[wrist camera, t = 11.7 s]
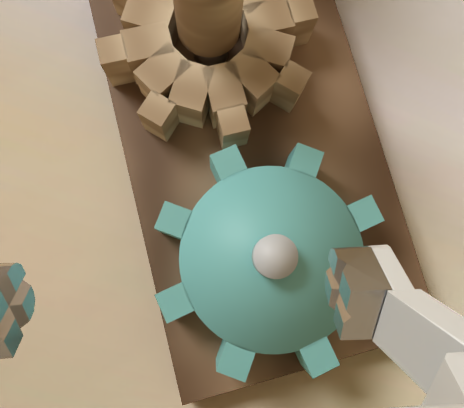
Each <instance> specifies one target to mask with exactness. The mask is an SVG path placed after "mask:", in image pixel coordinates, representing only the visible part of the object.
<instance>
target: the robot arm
mask: <svg viewBox="0 0 464 408" xmlns="http://www.w3.org/2000/svg"><path fill="white" fill-rule="evenodd" d="M328 261H329V264H330V268H329V269H328V270H327V271H326V274H325V292H326V298H327V301H328V304H329V306H330V307H331V308H333V309H334V310H335V312H334V317H333V320H334V323H335V326H336V329H337V332H338V335H339V339H340V340H366V339H373V342H374V343H375V344H376V345H377V346H378V347H379V348H380V349H381V350H382V351H383V352H384V353H385V354H386V355H387V356H388V357H389V358H390V359H391V360H392V361H393V362H394V363H395V364H396V365H398V366H399V367H400V368H401V369H402V370H403V371H404V372H405V373H406V374H407V375H408V376H409V377H410V378H411V379H412V380H413V381H414V382H415V383H416V384H417V385H418V386H419V387H420V388H421V389H422V390H423V391H424V392H425V393H426V396H425V398H424V400H423V403H422V405H421V406H407V407H391V408H464V317H463V316H462V315H460V314H459V313H457V312H456V311H454V310H452V309H451V308H449V307H448V306H446V305H445V304H443V303H442V302H440V301H438V300H437V299H435V298H434V297H432V296H431V295H429V294H428V293H426V292H424V291H423V290H421V289H414V287H413V285H412V283H411V282H410V280H409V278H408V276H407V275H406V273H405V271H404V270H403V268H402V266H401V264H400V263H399V261H398V259H397V257H396V256H395V254H394V252H393V251H392V249H391V247H390V246H388V245H372V246H359V247H340V248H331V249H330V251H329V255H328ZM25 274H26V273H25V271H24V269H23V267H22V265H21V264H18V263H0V359H5V358H13V357H14V354H15V352H16V350H17V348H18V346H19V343H20V341H21V339H22V337H23V334H22V331H21V329H20V328H21V327H23V326H24V325H25V324H26V323H28V322H29V321H30V319H31V317H32V314H33V312H34V305H35V297H34V291H33V289H32V287H31V285H29V284H28V283H27V282H25V281H24V280H23V278H24V276H25Z"/></svg>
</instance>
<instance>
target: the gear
mask: <svg viewBox="0 0 464 408" xmlns="http://www.w3.org/2000/svg"><path fill="white" fill-rule="evenodd" d="M323 155H324V152H322V151H319V150H317V149H314V148H311V147H309V146H306V145H303V144H301V143H297V144H296V146H295V147H294V149H293V150H292V151H291V153H290V154H289V156H288V158H287V161H286V164H285V167H282V166H260V167H253V168H249V169H247V167H246V165H245V162H244V160H243V158H242V156H241V154H240V152H239V150H238V148H237V146H236V144H234V145H232V146H230V147H227V148H225V149H223V150H220V151H218V152H216V153H213V154H211V155H210V169H211V171H212V173H213V175H214V178H215V180H216V182H217V184H215V185H214V186H213V187H212V188H210V189H209V190H208V191H207V192H206V193H205V194H204V195H203V196H202V198H201V199H200V200H199V201H198V202H197V204H196V205H195V207H194V208H193V210H192V211H191V210H189V209H186V208H183V207H181V206H178V205H175V204H173V203H170V202H167V201H165V202H164V204H163V207H162V209H161V212H160V214H159V217H158V219H157V222H156V224H155V227H154V229H156V230H158V231H159V232H161V233H164V234H166V235H169V236H172V237H174V238H177V239H180V240H181V242H180V248H179V268H180V275H181V280H182V282H181V283H178V284H176V285H174V286H172V287H170V288H168V289H166V290H163V291H161V292H159V293H158V294H156V295H155V297H156V300H157V302H158V304H159V307H160V309H161V311H162V314H163V316H164V318H165V321H166V323H169V322H172V321H174V320H176V319H178V318H180V317H182V316H184V315H186V314H188V313H191V312H193V311H195V312H196V314H197V315H198V317H199V318H200V319H201V320H202V322H203V323H204V324H205V325H206V326H207V327H208V328H209V329H210V330H211V331H212V332H214V333H215V334H216V335H217V336H218V337H220V338H222V342H221V345H220V348H219V351H218V353H217V356H216V372H218V373H221V374H224V375H226V376H229V377H232V378H234V379H237V380H240V381H242V382H246V379H247V376H248V373H249V371H250V368H251V365H252V362H253V359H254V356H255V353H261V354H285V353H292V352H295V353H296V356H297V358H298V360H299V362H300V364H301V366H302V367H303V368H304V369H305V370H306V371H307V373H308V374H309V375H310V376H311V377H312V378H313V379H314V378H316V377H318V376H319V375H321V374H323V373H325V372H327V371H329V370H331V369H333V368H335V367H337V366H339V365H340V364H339V361H338V359H337V357H336V355H335V353H334V351H333V349H332V347H331V344H330V342H329V340H328V338H327V336H329V335H330V334H331V333H332V332H334V331H335V330H336V326H335V323H334V320H333V317H334V312H335V310H334V309H333V308H331V307H330V306H329V304H328V301H327V298H326V292H325V274H326V271H327V270H328V269H329V268H330V264H329V261H328V255H329V251H330V249H331V248H340V247H359V246H363V241H362V237H361V234H360V232H362V231H364V230H366V229H368V228H370V227H372V226H374V225H376V224H379V223H381V222H383V221H385V220H384V218H383V216H382V214H381V212H380V210H379V208H378V206H377V205H376V203H375V201H374V199H373V197H372V195H369V196H367V197H365V198H362V199H360V200H358V201H356V202H353V203H351V204H349V205H346V204H345V203H344V201H343V200H342V199H341V198H340V197H339V196H338V195H337V194H336V193H335V192H334V191H333V190H332V189H331V188H330V187H329V186H327V185H326V184H325V183H324V182H322V181H320V180H319V179H317V178H316V176H317V173H318V170H319V167H320V164H321V161H322V158H323Z"/></svg>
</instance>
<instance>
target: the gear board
mask: <svg viewBox="0 0 464 408" xmlns="http://www.w3.org/2000/svg"><path fill="white" fill-rule="evenodd" d="M313 2H314V5H315V8H316V11H317V14H318V17H319V18H318V20H317V22H316V25H315V27H314V29H313V32H312V34H311V36H310V39H309V41H308V43H307V44H304V45H300V46H295V47H293V49H292V52H291V56H290V60H291V61H293V62H295V63H297V64H298V65H300V66H302V67H304V68H305V69H307V70H309V71H311V72H312V74H311V76H310V78H309V80H308V82H307V84H306V86H305V88H304V90H303V91H302V93H301V95H300V97H299V98H298V100H297V102H296V104H295V105H294V107H293V109H292V110H291V112H290V113H288V112H287V111H285V110H283V109H281V108H280V107H278V106H276V105H274V104H273V103H271V102H268V103H267V104H266V105H265V106H264V107H263V108H262V109H261V110H260V111H259V112H257V113H256V114H255V115H254V116H253V117H252V116H251V115H250V114H249V113H248V112H247V111H246V113H247V117H248V120H249V124H250V128H251V131H250V134H249V138H248V141H247V144H246V145H242V146H238V147H237V148H238V150H239V152H240V154H241V156H242V158H243V160H244V162H245V165H246V167H247V169H249V168H253V167H260V166H282V167H285V164H286V161H287V158H288V156H289V154H290V153H291V151H292V150H293V149H294V147H295V146H296V144H297V143H301V144H303V145H306V146H309V147H311V148H314V149H317V150H319V151H322V152H324V155H323V158H322V161H321V164H320V167H319V170H318V173H317V176H316V178H317V179H319V180H320V181H322V182H324V183H325V184H326V185H327V186H329V187H330V188H331V189H332V190H333V191H334V192H335V193H336V194H337V195H338V196H339V197H340V198H341V199H342V200H343V201H344V203H345V204H346V205H349V204H351V203H353V202H356V201H358V200H360V199H362V198H365V197H367V196H369V195H372V197H373V199H374V201H375V203H376V205H377V206H378V208H379V210H380V212H381V214H382V216H383V218H384V220H385V221H383V222H381V223H379V224H376V225H374V226H372V227H370V228H368V229H366V230H364V231H362V232H360V234H361V237H362V241H363V246H372V245H388V246H390V247H391V249H392V251H393V252H394V254H395V256H396V257H397V259H398V261H399V263H400V264H401V266H402V268H403V270H404V271H405V273H406V275H407V276H408V278H409V280H410V282H411V283H412V285H413V287H414V289H421V290H423V291H424V292H426V293H428V289H427V286H426V283H425V280H424V277H423V274H422V271H421V268H420V265H419V261H418V258H417V255H416V252H415V249H414V246H413V243H412V240H411V237H410V233H409V230H408V227H407V224H406V221H405V218H404V215H403V212H402V209H401V205H400V202H399V199H398V196H397V193H396V190H395V187H394V184H393V181H392V178H391V174H390V171H389V168H388V165H387V162H386V159H385V156H384V153H383V150H382V146H381V143H380V140H379V137H378V134H377V131H376V128H375V125H374V122H373V118H372V115H371V112H370V109H369V106H368V103H367V100H366V97H365V94H364V90H363V87H362V84H361V81H360V78H359V75H358V72H357V69H356V66H355V63H354V59H353V56H352V53H351V50H350V47H349V44H348V41H347V38H346V35H345V31H344V28H343V25H342V22H341V19H340V16H339V13H338V10H337V7H336V3H335V0H313ZM89 3H90V7H91V11H92V16H93V20H94V24H95V29H96V33H97V37H98V38H102V37H106V36H111V35H116V34H120V30H124V28H123V26H122V23H121V21H120V19H121V16H120V15H118V14H117V12H116V9H115V7H114V4H113V1H112V0H89ZM175 48H176V49H177V50H178V51H179V52H180V53H181V54H182V55H183V56H184V57H185V58H186V59H187V60H188V61H192V62H195V63H199V64H202V65H206V66H211V65H216V64H220V63H225V62H229V61H230V60H231V59H232V58H233V57H234V56H236V55H237V54H238V53H239V52H240V51H241V50H242V49H243V45H242V42H241V38H240V37H239V38H238V40H237V42H236V44H235V45H234V47H233V48H232V49H231V50H229V51H228V52H227V53H225V54H223V55H221V56H217V57H202V56H198V55H196V54H194V53H192V52H190V51H189V50H188V49H187V48H186V47H185V46H184V45H183V44H182V42H181V41H180V39H179V36H178V38H177V41H176V44H175ZM106 76H107V75H106ZM107 81H108V85H109V89H110V94H111V98H112V102H113V107H114V111H115V115H116V120H117V124H118V128H119V133H120V137H121V141H122V146H123V150H124V154H125V159H126V163H127V167H128V172H129V176H130V180H131V185H132V189H133V193H134V198H135V202H136V206H137V211H138V215H139V219H140V224H141V228H142V232H143V237H144V241H145V245H146V250H147V254H148V258H149V263H150V267H151V271H152V276H153V280H154V284H155V289H156V293H157V294H158V293H159V292H161V291H163V290H166V289H168V288H170V287H172V286H174V285H176V284H178V283H181V282H182V280H181V275H180V268H179V248H180V242H181V240H180V239H177V238H174V237H172V236H169V235H166V234H164V233H161V232H159V231H158V230H156V229H154V227H155V224H156V222H157V219H158V217H159V214H160V212H161V209H162V207H163V204H164V202H165V201H167V202H170V203H173V204H175V205H178V206H181V207H183V208H186V209H189V210H191V211H192V210H193V208H194V207H195V205H196V204H197V202H198V201H199V200H200V199H201V198H202V196H203V195H204V194H205V193H206V192H207V191H208V190H209V189H210V188H212V187H213V186H214V185H215V184H217V182H216V180H215V178H214V175H213V173H212V171H211V169H210V155H211V154H213V153H216V152H218V151H220V150H222V148H221V144H220V140H219V136H218V133H217V129H216V128H215V129H213V126H212V123H211V119H210V115H209V111H208V113H207V116H206V120H205V123H204V126H203V129H202V128H199V127H195V126H191V125H188V124H184V123H181V122H179V124H178V126H177V127H176V129H175V130H174V132H173V133H172V135H171V136H170V138H169V140H168V141H167V142H166V141H164V140H162V139H161V138H159V137H157V136H155V135H154V134H152V133H150V132H149V131H147V130H145V128H144V126H143V124H142V122H141V120H140V118H139V116H138V114H137V111H138V109H139V108H140V106H141V105H142V103H143V102H144V100H145V99H146V97H145V96H144V95H143V94H142V93H141V91H140V88H139V86H138V84H136V82H132V83H127V84H123V85H118V86H114V87H113V86H112V84H111V82H110V80H109V79H108V77H107ZM428 294H429V293H428ZM160 310H161V309H160ZM161 315H162V319H163V323H164V328H165V332H166V336H167V341H168V345H169V349H170V354H171V358H172V362H173V367H174V371H175V375H176V380H177V384H178V388H179V393H180V397H181V401H182V405H185V404H189V403H192V402H195V401H199V400H202V399H206V398H209V397H212V396H216V395H219V394H223V393H226V392H230V391H233V390H236V389H240V388H243V387H247V386H250V385H253V384H257V383H260V382H264V381H267V380H271V379H274V378H277V377H281V376H284V375H288V374H291V373H294V372H298V371H301V370H305V369H304V368H303V367H302V366H301V364H300V362H299V360H298V358H297V356H296V353H295V352H292V353H285V354H261V353H255V356H254V359H253V362H252V365H251V368H250V371H249V373H248V376H247V379H246V382H242V381H240V380H237V379H234V378H232V377H229V376H226V375H224V374H221V373H218V372H216V356H217V353H218V351H219V348H220V345H221V342H222V338H220V337H218V336H217V335H216V334H215V333H214V332H212V331H211V330H210V329H209V328H208V327H207V326H206V325H205V324H204V323H203V322H202V320H201V319H200V318H199V317H198V315H197V314H196V312H195V311H193V312H191V313H188V314H186V315H184V316H182V317H180V318H178V319H176V320H174V321H172V322H169V323H166V321H165V318H164V316H163V314H162V311H161ZM327 338H328V340H329V342H330V344H331V347H332V349H333V351H334V353H335V355H336V357H337V359H338V360H339V359H342V358H346V357H349V356H352V355H356V354H359V353H363V352H366V351H370V350H373V349H376V348H379V347H378V346H377V345H376V344H375V343H374V342H373V339H366V340H340V339H339V335H338V332H337V329H336V330H335V331H334V332H332V333H331V334H330V335H329V336H327Z"/></svg>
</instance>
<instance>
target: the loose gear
mask: <svg viewBox="0 0 464 408" xmlns="http://www.w3.org/2000/svg"><path fill="white" fill-rule="evenodd" d="M112 1H113V4H114V7H115V9H116V12H117V14H118V15H120V16H121V19H120V21H121V23H122V26H123V28H124V30H120V34H116V35H111V36H106V37H102V38H97V39H95V42H96V47H97V51H98V55H99V60H100V64H101V66H102V68H103V70H104V71H105V73H106V75H107V77H108V79H109V80H110V82H111V84H112V86H113V87H114V86H118V85H123V84H127V83H132V82H136V84H138V86H139V88H140V91H141V93H142V94H143V95H144V96H145V97H146V99H145V100H144V102H143V103H142V105H141V106H140V108H139V109H138V111H137V114H138V116H139V118H140V120H141V122H142V124H143V126H144V128H145V130H147V131H149V132H150V133H152V134H154V135H155V136H157V137H159V138H161V139H162V140H164V141H166V142H167V141H168V140H169V138H170V136H171V135H172V133H173V132H174V130H175V129H176V127H177V126H178V124H179V122H181V123H184V124H188V125H191V126H195V127H199V128H202V129H203V126H204V123H205V120H206V116H207V113H208V111H209V115H210V119H211V123H212V126H213V129H215V128H216V129H217V133H218V136H219V140H220V144H221V148H222V150H223V149H225V148H227V147H230V146H232V145H234V144H236V146H237V147H238V146H242V145H246V144H247V141H248V138H249V134H250V131H251V128H250V124H249V120H248V117H247V113H246V111H247V112H248V113H249V114H250V115H251V116H252V117H253V116H254V115H255V114H256V113H257V112H259V111H260V110H261V109H262V108H263V107H264V106H265V105H266V104H267V103H268V102H271V103H273V104H274V105H276V106H278V107H280V108H281V109H283V110H285V111H287V112H288V113H290V112H291V110H292V109H293V107H294V105H295V104H296V102H297V100H298V98H299V97H300V95H301V93H302V91H303V90H304V88H305V86H306V84H307V82H308V80H309V78H310V76H311V74H312V72H311V71H309V70H307V69H305V68H304V67H302V66H300V65H298V64H297V63H295V62H293V61H291V60H290V56H291V52H292V49H293V47H295V46H300V45H304V44H307V43H308V41H309V39H310V36H311V34H312V32H313V29H314V27H315V25H316V22H317V20H318V18H319V17H318V14H317V11H316V8H315V5H314V2H313V0H112ZM178 36H179V39H180V41H181V42H182V44H183V45H184V46H185V47H186V48H187V49H188V50H189V51H190V52H192V53H194V54H196V55H198V56H202V57H217V56H221V55H223V54H225V53H227V52H228V51H229V50H231V49H232V48H233V47H234V45H235V44H236V42H237V40H238V38H239V37H240V38H241V42H242V45H243V49H242V50H241V51H240V52H239V53H238V54H237V55H236V56H234V57H233V58H232V59H231V60H230V61H229V62H225V63H220V64H216V65H211V66H206V65H202V64H199V63H195V62H192V61H188V60H187V59H186V58H185V57H184V56H183V55H182V54H181V53H180V52H179V51H178V50H177V49H176V48H175V44H176V41H177V38H178Z"/></svg>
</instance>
